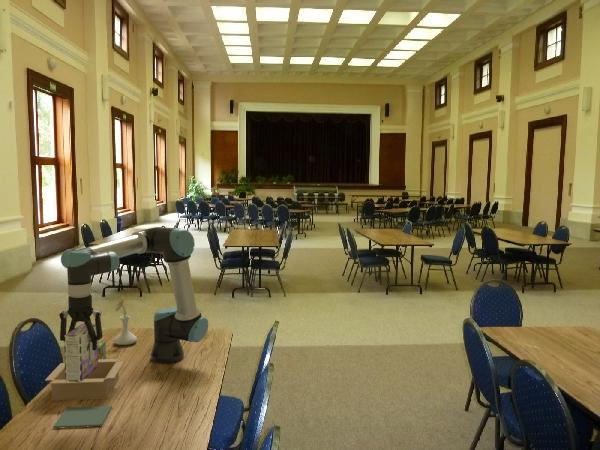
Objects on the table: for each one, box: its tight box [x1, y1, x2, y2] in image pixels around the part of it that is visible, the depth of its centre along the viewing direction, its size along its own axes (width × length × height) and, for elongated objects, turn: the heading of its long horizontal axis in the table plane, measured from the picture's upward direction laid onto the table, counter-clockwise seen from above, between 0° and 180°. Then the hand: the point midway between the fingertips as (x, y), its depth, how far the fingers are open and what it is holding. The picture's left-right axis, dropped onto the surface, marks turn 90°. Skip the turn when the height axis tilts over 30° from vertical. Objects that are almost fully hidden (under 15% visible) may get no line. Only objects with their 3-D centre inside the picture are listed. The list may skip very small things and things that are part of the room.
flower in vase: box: [113, 296, 138, 346], centre depth 256 cm, size 13×11×25 cm
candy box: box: [63, 322, 98, 382], centre depth 178 cm, size 14×6×16 cm, turn 178°
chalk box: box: [97, 341, 107, 359], centre depth 223 cm, size 9×9×15 cm
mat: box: [52, 405, 113, 429], centre depth 181 cm, size 16×14×1 cm
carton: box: [44, 358, 125, 402], centre depth 204 cm, size 25×23×8 cm
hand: (82, 359), depth 179 cm, fingers closed on candy box, 6 cm apart
